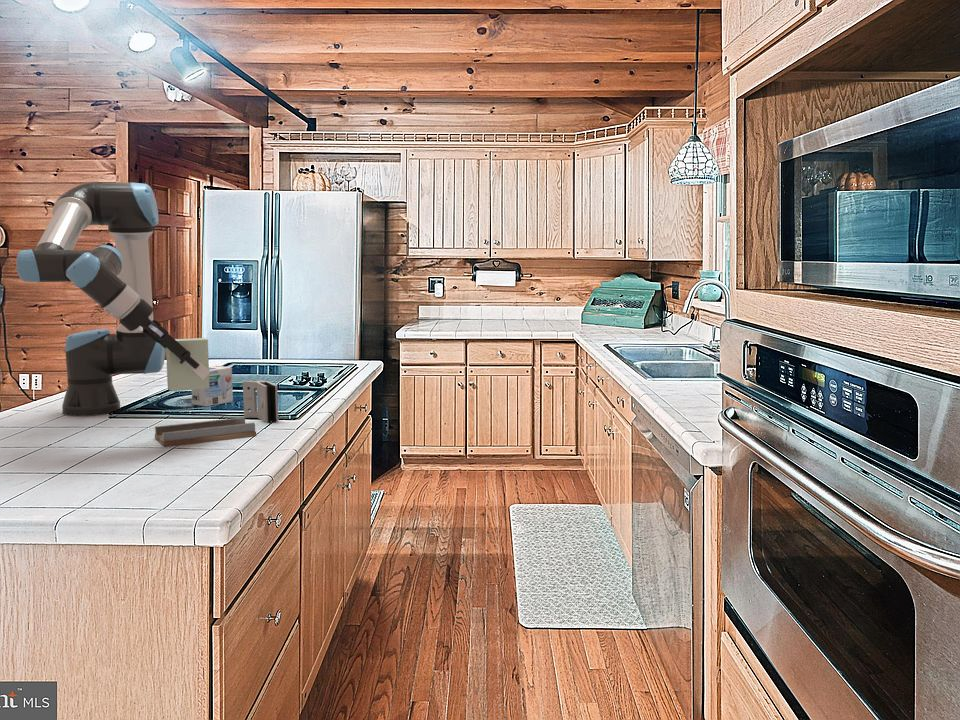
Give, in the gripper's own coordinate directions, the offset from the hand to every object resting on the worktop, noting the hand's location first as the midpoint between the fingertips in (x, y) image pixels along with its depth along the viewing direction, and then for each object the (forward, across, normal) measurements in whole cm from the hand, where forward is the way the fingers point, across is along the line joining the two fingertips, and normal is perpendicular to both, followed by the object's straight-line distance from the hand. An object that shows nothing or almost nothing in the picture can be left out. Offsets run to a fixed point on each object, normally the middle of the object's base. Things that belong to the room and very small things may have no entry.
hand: (204, 374), depth 206 cm
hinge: (+25, -16, +2) cm, 30 cm away
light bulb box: (+21, -47, -2) cm, 52 cm away
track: (+11, -1, -11) cm, 16 cm away
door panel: (0, 0, -5) cm, 5 cm away
